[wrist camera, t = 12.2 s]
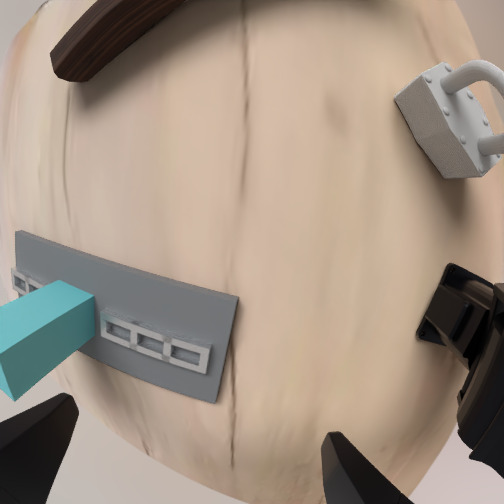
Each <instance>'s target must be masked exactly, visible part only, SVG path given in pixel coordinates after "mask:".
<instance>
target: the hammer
mask: <svg viewBox="0 0 504 504" xmlns="http://www.w3.org/2000/svg"><path fill="white" fill-rule="evenodd" d="M184 1H186V0H98V1H96V2H95V3H94V4H93V5H92V6H91V7H90V8H89V9H88V10H87V11H86V12H85V13H84V14H83V15H82V16H81V17H80V18H79V20H78V21H77V22H76V23H75V24H74V25H73V26H72V27H71V28H70V29H69V31H68V32H67V33H66V34H65V35H64V36H63V38H62V39H61V40H60V41H59V42H58V44H57V45H56V46H55V47H54V49H53V50H52V51H51V53H50V57H51V61H52V66H53V70H54V73H55V74H56V75H57V77H58V78H60V79H63V80H66V81H69V82H85V81H88V80H89V79H91V78H92V77H93V76H94V75H95V74H96V73H97V72H98V71H100V70H101V69H102V68H103V67H104V66H105V65H107V64H108V63H109V62H110V61H111V60H112V59H114V58H115V57H116V56H117V55H118V54H119V53H120V52H121V51H123V50H124V49H125V48H126V47H127V46H129V45H130V44H131V43H132V42H133V41H135V40H136V39H137V38H138V37H140V36H141V35H142V34H143V33H144V32H145V31H147V30H148V29H149V28H150V27H151V26H153V25H154V24H155V23H156V22H157V21H159V20H160V19H161V18H163V17H164V16H165V15H166V14H168V13H169V12H170V11H172V10H173V9H174V8H176V7H177V6H179V5H180V4H181V3H183V2H184Z"/></svg>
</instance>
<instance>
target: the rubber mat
mask: <svg viewBox="0 0 504 504" xmlns="http://www.w3.org/2000/svg"><path fill="white" fill-rule="evenodd" d="M15 255H16V267H18V268H20V269H22V270H24V271H26V272H28V273H30V274H32V275H33V276H35V277H37V278H39V279H41V280H43V281H46V282H48V283H50V284H51V283H53V282H55V281H57V280H61V281H63V282H65V283H67V284H69V285H72V286H74V287H76V288H78V289H80V290H83V291H85V292H87V293H90V294H92V295H94V316H95V336H93V337H92V338H91V339H90V340H88V341H87V342H86V343H85V344H83V345H82V346H81V347H80V348H78V349H77V350H78V351H80V352H82V353H84V354H86V355H88V356H90V357H92V358H94V359H96V360H98V361H100V362H102V363H104V364H106V365H109V366H111V367H113V368H115V369H117V370H120V371H122V372H124V373H127V374H129V375H131V376H134V377H136V378H139V379H141V380H144V381H146V382H149V383H152V384H154V385H157V386H160V387H163V388H165V389H168V390H171V391H174V392H177V393H180V394H183V395H186V396H190V397H193V398H196V399H199V400H203V401H206V402H210V403H213V404H215V402H216V399H217V396H218V391H219V386H220V382H221V377H222V372H223V368H224V363H225V358H226V354H227V349H228V344H229V339H230V335H231V330H232V325H233V321H234V316H235V311H236V307H237V302H238V297H237V296H233V295H229V294H225V293H221V292H217V291H214V290H210V289H206V288H202V287H198V286H195V285H191V284H187V283H184V282H180V281H176V280H173V279H169V278H166V277H162V276H159V275H155V274H152V273H148V272H145V271H142V270H138V269H135V268H132V267H128V266H125V265H122V264H119V263H115V262H112V261H109V260H106V259H103V258H100V257H97V256H94V255H91V254H88V253H84V252H81V251H79V250H76V249H73V248H70V247H67V246H64V245H61V244H58V243H55V242H52V241H50V240H47V239H44V238H41V237H39V236H36V235H33V234H30V233H28V232H25V231H22V230H20V231H16V232H15ZM20 284H22V285H24V286H25V287H26V285H25V281H24V280H22V279H20ZM37 289H38V288H36V287H35V286H34V291H35V290H37ZM18 294H19V298H20V297H22V296H23V295H22V294H20V293H19V292H18ZM105 308H107V309H109V310H112V311H114V312H117V313H119V314H122V315H125V316H127V317H130V318H133V319H136V320H138V321H141V322H144V323H147V324H150V325H153V326H156V327H159V328H162V329H165V330H168V331H171V332H174V333H177V334H180V335H184V336H187V337H190V338H194V339H197V340H200V341H204V342H208V343H211V344H212V348H211V354H210V359H209V365H208V369H207V371H206V374H204V373H200V372H197V371H194V370H190V369H187V368H184V367H181V366H178V365H175V364H172V363H169V362H166V361H163V360H160V359H157V358H154V357H152V356H149V355H146V354H143V353H141V352H138V351H136V350H133V349H130V348H128V347H126V346H123V345H121V344H118V343H116V342H113V341H111V340H109V339H106V338H104V337H102V336H101V322H100V311H102V310H103V309H105ZM111 329H113V330H116V331H118V332H121V333H123V334H126V335H128V336H131V330H129V329H126V328H124V327H121V326H119V325H116V324H114V323H111ZM141 341H144V342H147V343H150V344H152V345H155V346H158V347H161V348H164V342H162V341H159V340H156V339H154V338H151V337H148V336H145V335H141ZM174 352H176V353H179V354H182V355H186V356H189V357H192V358H195V359H199V360H200V353H197V352H194V351H190V350H187V349H184V348H181V347H178V346H174Z"/></svg>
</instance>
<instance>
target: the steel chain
mask: <svg viewBox="0 0 504 504" xmlns="http://www.w3.org/2000/svg"><path fill="white" fill-rule="evenodd" d="M11 275H12V285H13V289H14V290H15V291H17V292H19V293H20V294H22V295H23V296H24V295H26V294H28V293H31V292H33V291H34V286H35V287H36V288H38V289H39V288H42V287H44V286H46V285H48V284H50V283H48V282H46V281H43V280H41V279H39V278H37V277H35V276H33V275H32V274H30V273H28V272H26V271H24V270H22V269H20V268H18V267H16V266H15V267H13V268H11ZM20 279H22V280H24V281H25V285H26V287H25V286H24V285H22V284H20ZM100 322H101V336H102V337H104V338H106V339H109V340H111V341H113V342H116V343H118V344H121V345H123V346H126V347H128V348H130V349H133V350H136V351H138V352H141V353H143V354H146V355H149V356H152V357H154V358H157V359H160V360H163V361H166V362H169V363H172V364H175V365H178V366H181V367H184V368H187V369H190V370H194V371H197V372H200V373H204V374H206V371H207V369H208V365H209V359H210V354H211V348H212V344H211V343H208V342H204V341H200V340H197V339H194V338H190V337H187V336H184V335H180V334H177V333H174V332H171V331H168V330H165V329H162V328H159V327H156V326H153V325H150V324H147V323H144V322H141V321H138V320H136V319H133V318H130V317H127V316H125V315H122V314H119V313H117V312H114V311H112V310H109V309H107V308H105V309H103V310H102V311H100ZM111 323H114V324H116V325H119V326H121V327H124V328H126V329H129V330H131V336H128V335H126V334H123V333H121V332H118V331H116V330H113V329H111ZM141 335H145V336H148V337H151V338H154V339H156V340H159V341H162V342H164V348H161V347H158V346H155V345H152V344H150V343H147V342H144V341H141ZM174 346H178V347H181V348H184V349H187V350H190V351H194V352H197V353H200V360H199V359H195V358H192V357H189V356H186V355H182V354H179V353H176V352H174Z"/></svg>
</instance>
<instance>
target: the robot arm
mask: <svg viewBox="0 0 504 504" xmlns="http://www.w3.org/2000/svg"><path fill="white" fill-rule="evenodd" d="M452 267H453V269H452V271H451V272H450V270H451V268H452ZM489 287H490V288H489ZM423 331H424V332H423ZM422 332H423V334H421V333H422ZM416 335H417V336H418V338H419V339H422V340H425V341H429V342H433V343H436V344H440V345H444V346H447V347H448V348H449V349H450V350H451V351H452V352H453V354H454V355H455V356H456V357H457V358H458V359H459V360H460V361H461V362H462V363H463V365H464V366H465V367H466V368H467V369H468V370H469V374H468V376H467V378H466V381H465V383H464V385H463V387H462V390H460V391H459V393H458V396H457V400H458V405H459V407H458V412H457V421H458V426H459V429H458V435H459V437H460V438H461V440H462V441H463V442H464V443H465V444H466V445H467V446H468V447H469V448H470V449H472V450H473V451H472V452H471V454H470V455H469V458H470V459H472V460H476V461H480V462H483V463H485V464H486V465H489V466H490V467H492V468H493V469H494V470H495V471H496V472H497V473H498V474H499V475H500V476H501V477H503V478H504V283H496V284H494V285H493V284H492V283H490V282H488V281H486V280H485V279H483V278H481V277H479V276H477V275H475V274H473V273H471V272H469V271H468V270H466V269H464V268H462V267H460V266H458V265H456V264H454V263H449V264H448V265H447V266H446V269H445V271H444V274H443V276H442V279H441V281H440V283H439V286H438V288H437V290H436V292H435V295H434V297H433V299H432V301H431V303H430V305H429V308H428V310H427V312H426V314H425V316H424V318H423V320H422V322H421V324H420V326H419V328H418V330H417V332H416ZM78 416H79V410H78V407H77V405H76V403H75V400H74V398H73V397H72V396H71V395H69V394H67V393H60V394H58V395H56V396H54V397H52V398H50V399H48V400H46V401H45V402H43V403H40V404H38V405H36V406H34V407H32V408H30V409H28V410H26V411H24V412H22V413H20V414H17V415H15V416H13V417H11V418H9V419H7V420H5V421H2V422H0V504H46V501H47V498H48V495H49V493H50V490H51V487H52V485H53V482H54V479H55V477H56V475H57V472H58V469H59V467H60V465H61V463H62V460H63V457H64V456H65V453H66V451H67V448H68V446H69V443H70V441H71V437H72V434H73V431H74V428H75V425H76V422H77V419H78ZM321 456H322V472H323V486H324V492H325V497H326V502H327V504H414V503H413V502H412V501H410V500H409V499H408V498H407V497H406V496H405V495H404V494H403V493H401V492H400V491H399V490H398V489H397V488H396V487H395V486H394V485H393V484H392V483H391V482H390V481H389V480H388V479H387V478H386V477H385V476H384V475H382V474H381V473H380V472H379V471H378V470H377V469H376V468H375V467H374V466H373V465H372V464H371V463H370V462H369V461H368V460H367V459H366V458H365V457H364V456H363V455H362V454H361V453H360V452H359V451H358V450H357V449H356V447H355V446H354V445H353V444H352V443H351V442H350V441H349V440H348V439H347V438H346V437H345V436H344V435H343V434H342V433H341V432H339V431H336V432H329V433H327V435H326V437H325V439H324V441H323V444H322V446H321Z"/></svg>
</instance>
